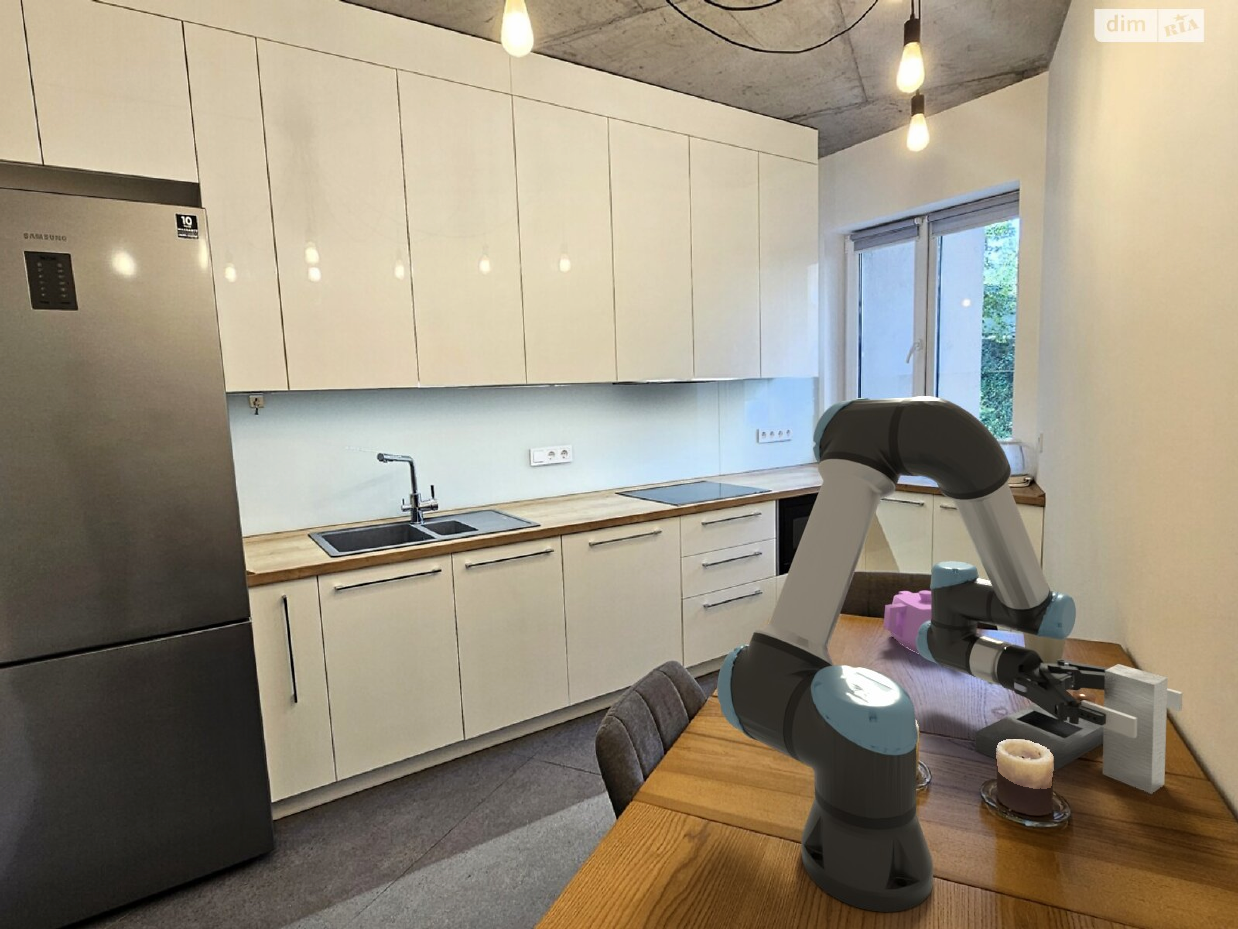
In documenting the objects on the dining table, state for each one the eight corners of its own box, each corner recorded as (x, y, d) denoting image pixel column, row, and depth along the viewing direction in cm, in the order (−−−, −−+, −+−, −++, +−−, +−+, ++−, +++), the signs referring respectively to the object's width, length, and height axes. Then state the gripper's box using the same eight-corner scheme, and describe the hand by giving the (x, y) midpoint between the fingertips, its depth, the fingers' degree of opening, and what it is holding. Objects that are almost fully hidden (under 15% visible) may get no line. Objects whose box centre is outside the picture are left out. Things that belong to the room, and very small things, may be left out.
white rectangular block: (1151, 794, 91) (1154, 684, 89) (1102, 774, 96) (1104, 670, 94) (1164, 785, 93) (1167, 677, 91) (1115, 765, 98) (1118, 664, 96)
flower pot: (1074, 659, 137) (1075, 619, 136) (1066, 674, 130) (1067, 632, 129) (1023, 649, 143) (1023, 611, 142) (1013, 663, 136) (1013, 623, 135)
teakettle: (898, 626, 161) (897, 578, 160) (974, 639, 150) (974, 587, 149) (878, 649, 147) (877, 596, 146) (960, 664, 137) (960, 608, 136)
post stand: (1040, 779, 95) (1040, 747, 95) (974, 749, 104) (974, 720, 103) (1122, 732, 107) (1123, 703, 107) (1057, 709, 116) (1057, 682, 115)
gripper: (1047, 669, 116) (1197, 716, 97) (961, 705, 104) (1114, 767, 85) (1048, 628, 115) (1199, 668, 96) (961, 660, 103) (1115, 713, 84)
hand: (1159, 714), depth 91 cm, fingers open, 13 cm apart
